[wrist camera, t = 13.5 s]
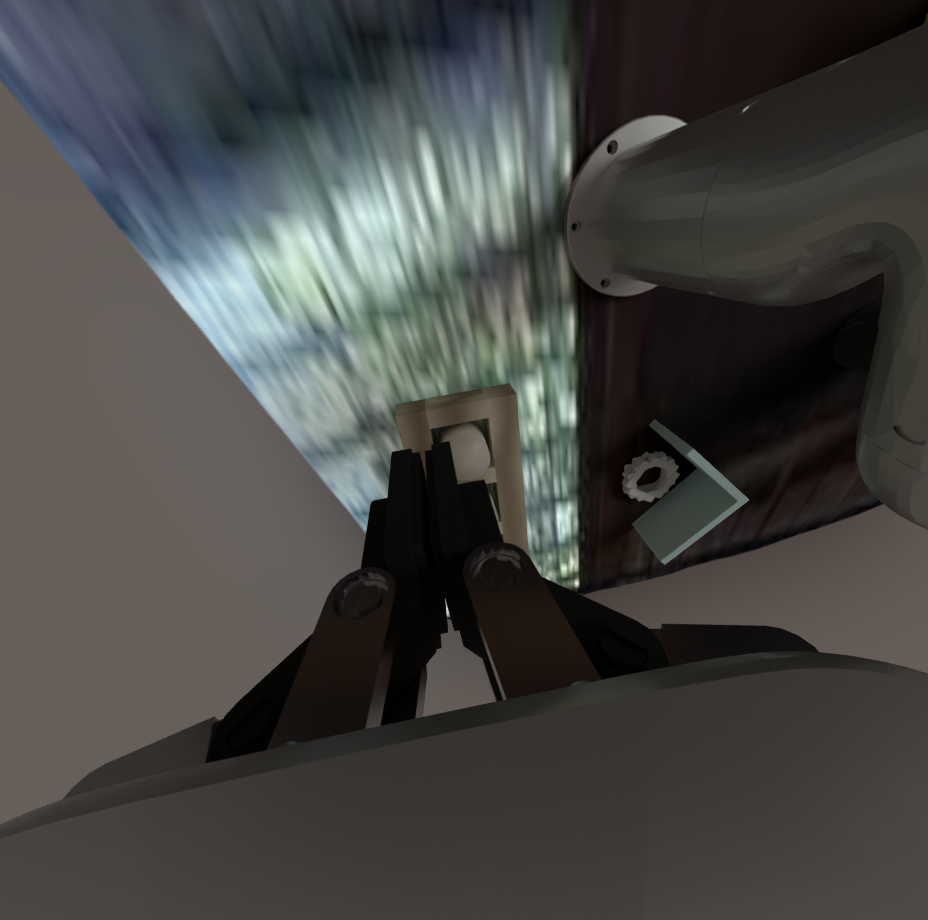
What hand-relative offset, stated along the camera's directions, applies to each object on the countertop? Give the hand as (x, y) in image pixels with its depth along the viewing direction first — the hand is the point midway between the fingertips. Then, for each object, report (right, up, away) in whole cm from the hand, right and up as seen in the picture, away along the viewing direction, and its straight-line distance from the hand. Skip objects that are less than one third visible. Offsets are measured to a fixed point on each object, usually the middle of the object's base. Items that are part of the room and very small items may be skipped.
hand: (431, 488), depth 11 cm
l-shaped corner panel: (+24, -1, +37) cm, 44 cm away
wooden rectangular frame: (+2, -3, +34) cm, 34 cm away
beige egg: (+1, +3, +30) cm, 30 cm away
